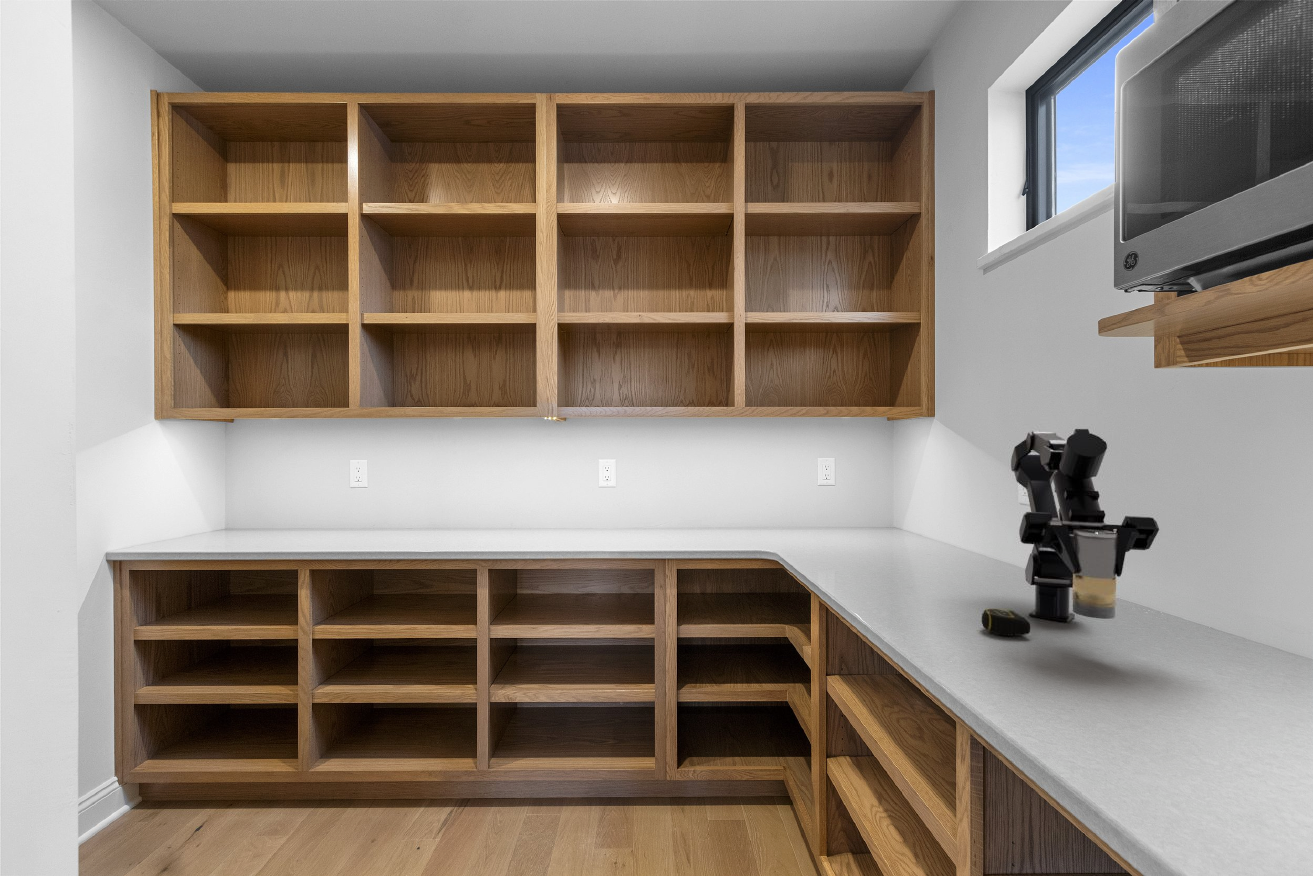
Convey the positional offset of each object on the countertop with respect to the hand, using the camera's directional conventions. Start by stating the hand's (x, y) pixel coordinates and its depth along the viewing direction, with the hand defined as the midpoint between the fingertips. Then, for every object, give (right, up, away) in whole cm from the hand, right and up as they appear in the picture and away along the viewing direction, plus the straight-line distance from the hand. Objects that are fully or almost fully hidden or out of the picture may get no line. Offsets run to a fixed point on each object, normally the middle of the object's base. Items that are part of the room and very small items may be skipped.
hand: (1097, 574), depth 103 cm
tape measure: (-7, -14, +14) cm, 21 cm away
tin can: (0, -7, +1) cm, 7 cm away
